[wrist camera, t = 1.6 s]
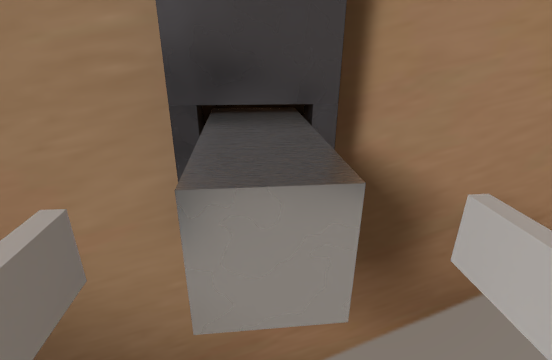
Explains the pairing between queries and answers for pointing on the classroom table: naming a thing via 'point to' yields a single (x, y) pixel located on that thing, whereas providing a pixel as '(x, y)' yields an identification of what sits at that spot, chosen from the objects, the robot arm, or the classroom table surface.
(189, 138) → the peg insertion base
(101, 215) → the classroom table surface
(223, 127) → the square gray post
